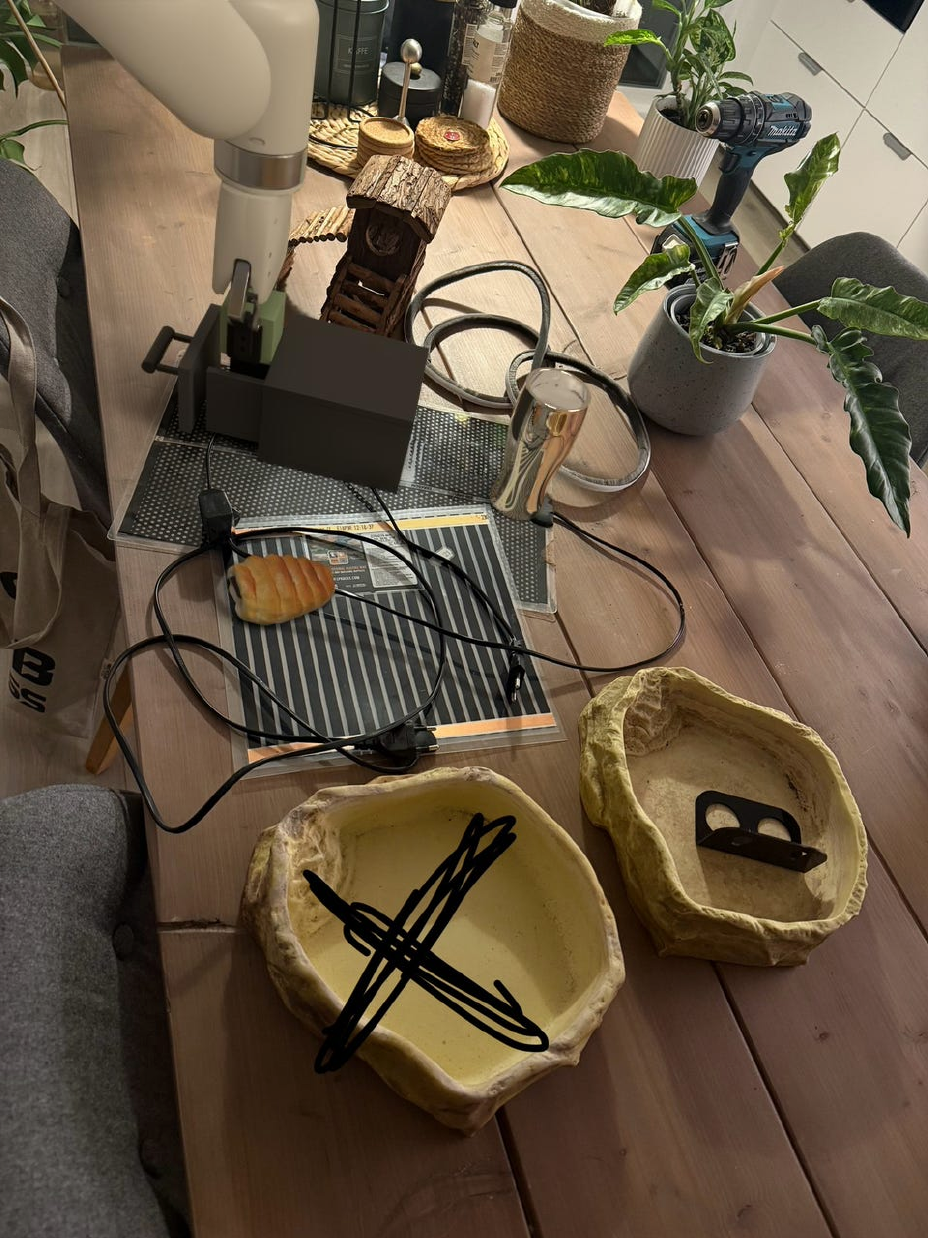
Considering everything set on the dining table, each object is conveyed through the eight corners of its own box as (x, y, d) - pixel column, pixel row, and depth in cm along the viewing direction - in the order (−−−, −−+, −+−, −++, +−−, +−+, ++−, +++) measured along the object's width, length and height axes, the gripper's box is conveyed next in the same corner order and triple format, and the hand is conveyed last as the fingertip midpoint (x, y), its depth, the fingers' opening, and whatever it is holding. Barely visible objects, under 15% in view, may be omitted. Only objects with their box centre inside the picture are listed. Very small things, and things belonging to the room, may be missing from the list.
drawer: (135, 420, 88) (131, 354, 82) (170, 355, 95) (168, 291, 90) (311, 462, 90) (319, 401, 84) (331, 396, 98) (340, 336, 92)
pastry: (320, 560, 83) (325, 533, 81) (344, 615, 80) (349, 589, 77) (221, 577, 79) (222, 549, 77) (241, 635, 76) (243, 608, 73)
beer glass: (493, 524, 92) (535, 411, 81) (477, 478, 96) (515, 363, 85) (554, 523, 94) (603, 413, 83) (536, 478, 98) (580, 367, 87)
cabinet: (257, 460, 90) (262, 383, 83) (284, 387, 98) (291, 312, 91) (397, 493, 92) (414, 421, 84) (412, 419, 100) (429, 348, 92)
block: (219, 352, 85) (220, 307, 81) (233, 324, 88) (234, 279, 84) (271, 365, 86) (274, 321, 82) (282, 337, 89) (286, 292, 85)
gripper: (241, 103, 78) (235, 288, 92) (184, 189, 67) (187, 384, 81) (325, 127, 79) (306, 306, 93) (282, 216, 68) (268, 404, 82)
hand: (250, 340), depth 86 cm, fingers closed on block, 5 cm apart
